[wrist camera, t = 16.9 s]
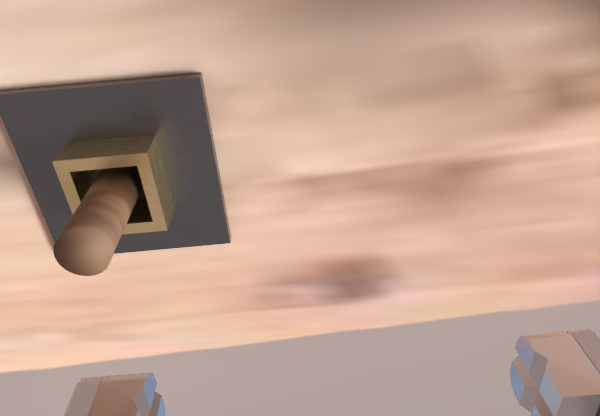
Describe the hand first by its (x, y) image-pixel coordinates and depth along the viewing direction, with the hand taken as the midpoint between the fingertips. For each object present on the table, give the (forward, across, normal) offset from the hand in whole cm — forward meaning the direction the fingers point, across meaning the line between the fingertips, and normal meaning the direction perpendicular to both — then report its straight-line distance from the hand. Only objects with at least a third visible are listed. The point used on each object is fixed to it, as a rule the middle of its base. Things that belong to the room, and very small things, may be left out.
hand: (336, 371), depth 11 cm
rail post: (+30, +15, +10) cm, 35 cm away
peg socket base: (+31, +15, +10) cm, 36 cm away
